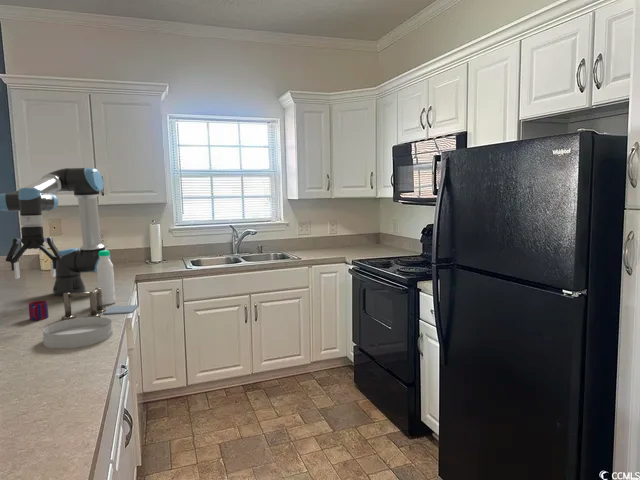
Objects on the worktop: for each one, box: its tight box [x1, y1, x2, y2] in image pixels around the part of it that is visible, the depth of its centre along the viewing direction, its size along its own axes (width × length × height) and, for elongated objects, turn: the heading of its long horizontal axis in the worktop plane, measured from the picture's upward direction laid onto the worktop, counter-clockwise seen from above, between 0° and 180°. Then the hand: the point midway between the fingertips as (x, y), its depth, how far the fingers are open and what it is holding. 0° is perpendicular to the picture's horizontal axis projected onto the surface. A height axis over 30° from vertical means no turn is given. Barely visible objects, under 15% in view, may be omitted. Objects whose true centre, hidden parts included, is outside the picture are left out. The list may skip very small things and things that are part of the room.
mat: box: [102, 304, 140, 315], centre depth 201 cm, size 12×12×1 cm
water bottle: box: [96, 250, 116, 306], centre depth 213 cm, size 7×7×25 cm
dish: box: [42, 316, 114, 349], centre depth 163 cm, size 22×22×5 cm
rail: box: [61, 287, 107, 320], centre depth 194 cm, size 13×15×10 cm
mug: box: [28, 300, 49, 322], centre depth 188 cm, size 7×10×7 cm
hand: (35, 277), depth 186 cm, fingers open, 13 cm apart
